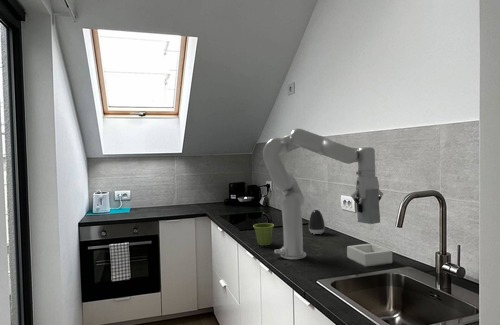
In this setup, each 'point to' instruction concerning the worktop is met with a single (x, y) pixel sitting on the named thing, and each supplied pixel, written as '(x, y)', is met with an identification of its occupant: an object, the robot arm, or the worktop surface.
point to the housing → (369, 254)
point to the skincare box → (370, 208)
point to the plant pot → (264, 233)
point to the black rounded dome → (316, 222)
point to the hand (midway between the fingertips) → (367, 211)
